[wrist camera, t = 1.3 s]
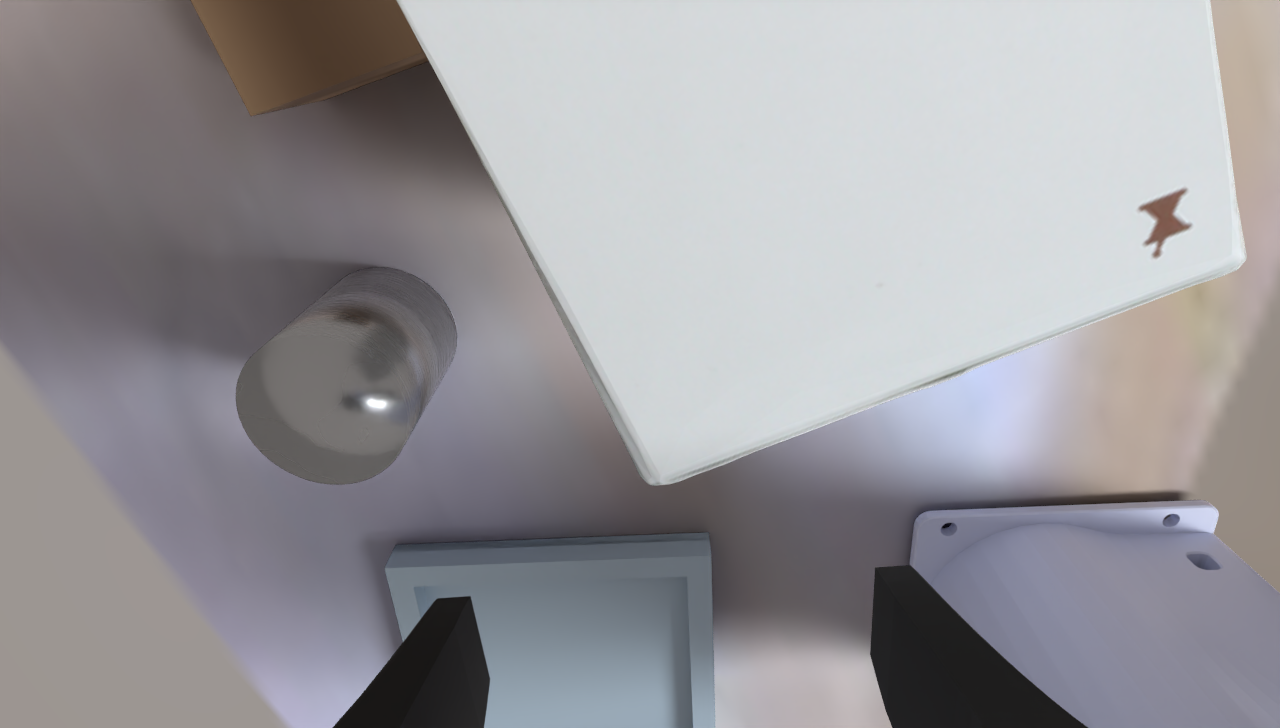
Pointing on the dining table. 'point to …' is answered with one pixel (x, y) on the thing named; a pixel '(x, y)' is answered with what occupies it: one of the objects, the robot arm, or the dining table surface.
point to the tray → (578, 625)
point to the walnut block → (307, 47)
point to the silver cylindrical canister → (348, 377)
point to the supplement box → (835, 190)
